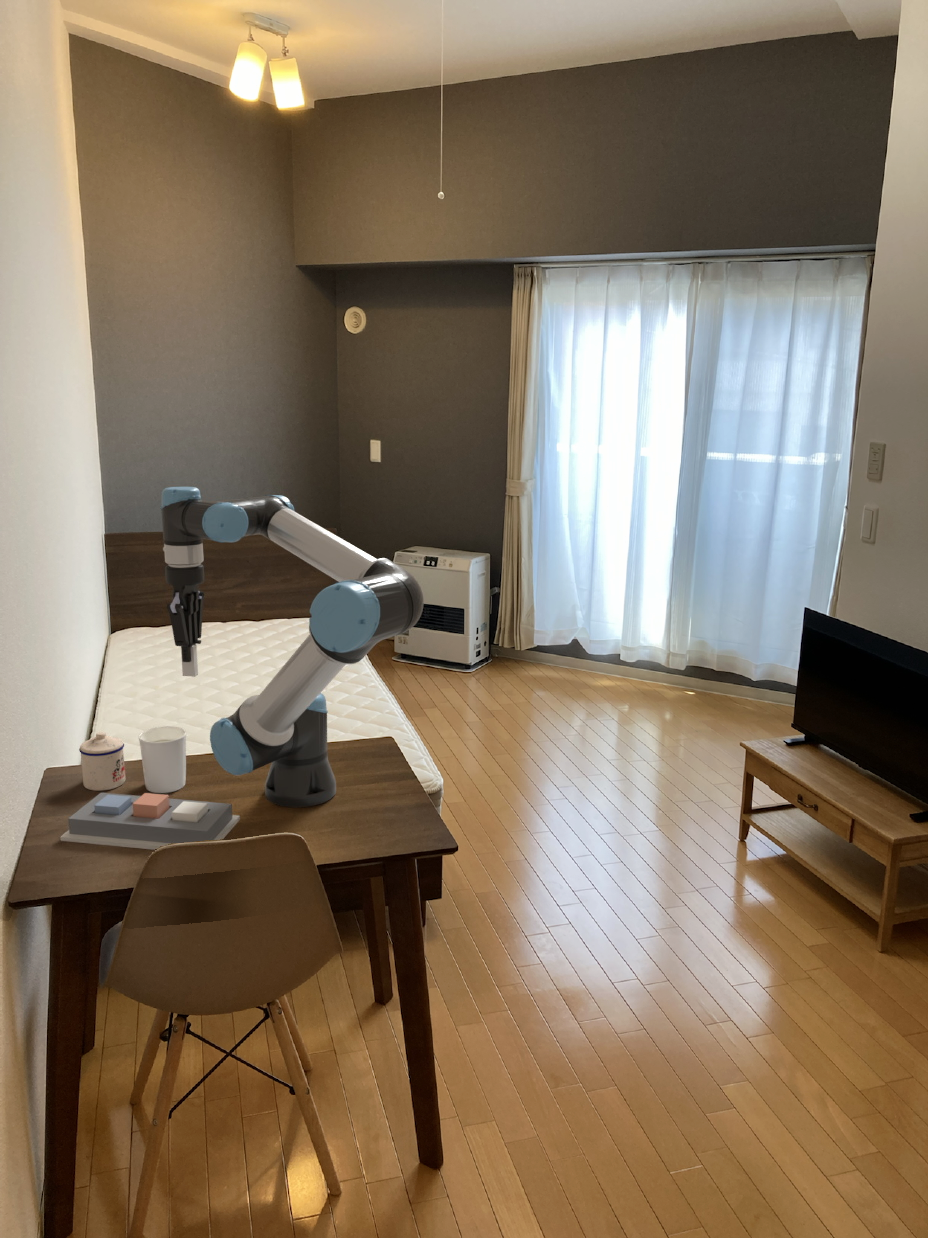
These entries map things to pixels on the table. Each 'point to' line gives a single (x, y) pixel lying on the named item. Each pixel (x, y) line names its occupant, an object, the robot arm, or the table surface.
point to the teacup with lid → (102, 762)
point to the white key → (190, 811)
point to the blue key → (113, 805)
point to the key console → (147, 826)
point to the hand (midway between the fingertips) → (190, 675)
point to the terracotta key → (151, 805)
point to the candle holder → (164, 758)
